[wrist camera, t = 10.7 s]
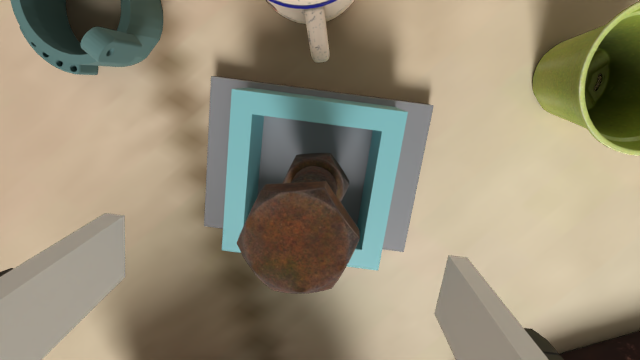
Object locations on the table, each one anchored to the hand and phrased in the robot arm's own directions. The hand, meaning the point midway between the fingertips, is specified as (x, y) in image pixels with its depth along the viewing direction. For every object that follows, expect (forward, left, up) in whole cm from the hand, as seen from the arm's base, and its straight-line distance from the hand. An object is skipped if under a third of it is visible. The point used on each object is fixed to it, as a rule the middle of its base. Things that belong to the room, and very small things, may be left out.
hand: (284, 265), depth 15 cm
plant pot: (+20, +10, -19) cm, 29 cm away
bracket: (-18, +10, -19) cm, 28 cm away
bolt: (+1, 0, -17) cm, 17 cm away
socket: (0, 0, -19) cm, 19 cm away
